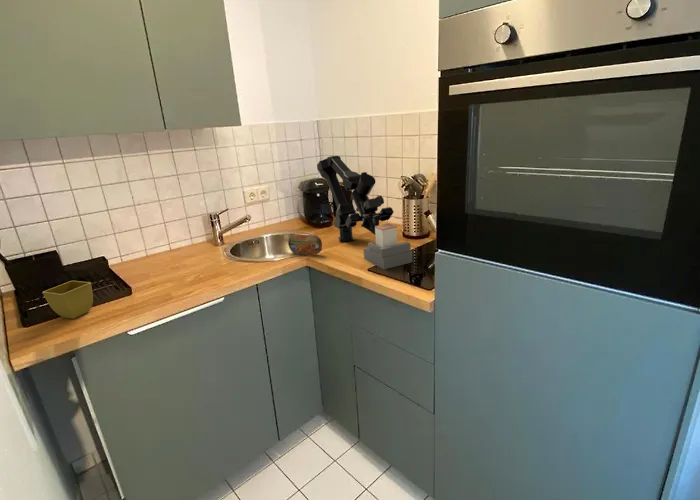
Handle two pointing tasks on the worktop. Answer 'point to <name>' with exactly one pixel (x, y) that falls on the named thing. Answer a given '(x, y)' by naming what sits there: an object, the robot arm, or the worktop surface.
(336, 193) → the robot arm
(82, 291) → the flower pot
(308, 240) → the tin
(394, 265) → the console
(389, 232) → the white block
